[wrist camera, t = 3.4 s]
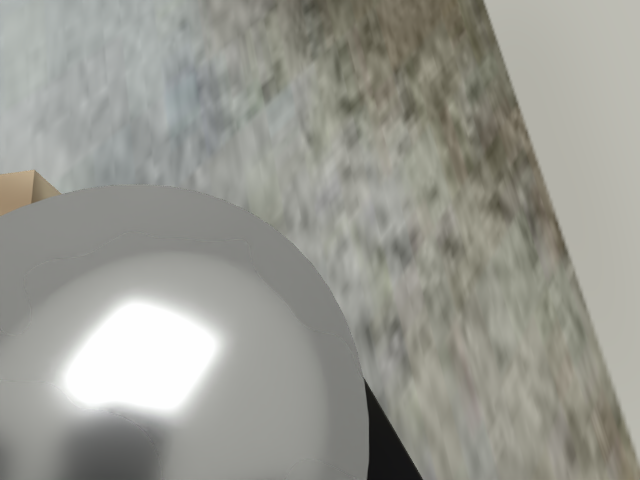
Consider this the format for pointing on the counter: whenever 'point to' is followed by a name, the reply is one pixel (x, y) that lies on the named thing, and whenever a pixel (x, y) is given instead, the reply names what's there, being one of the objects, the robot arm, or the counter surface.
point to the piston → (170, 345)
